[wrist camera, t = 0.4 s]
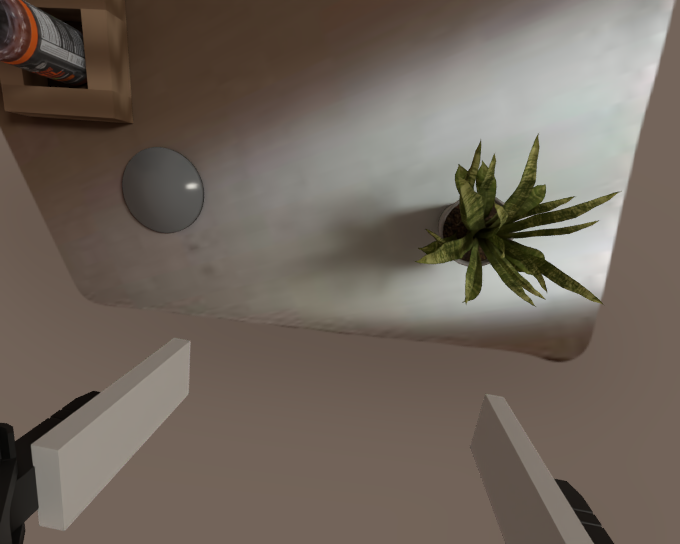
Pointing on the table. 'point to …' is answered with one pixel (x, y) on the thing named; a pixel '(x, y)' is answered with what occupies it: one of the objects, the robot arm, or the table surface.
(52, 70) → the supplement bottle
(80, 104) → the pocket holder
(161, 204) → the grey domed disc
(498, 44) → the table surface
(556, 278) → the house plant
